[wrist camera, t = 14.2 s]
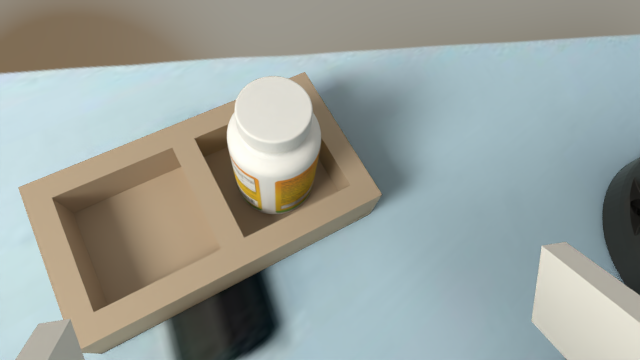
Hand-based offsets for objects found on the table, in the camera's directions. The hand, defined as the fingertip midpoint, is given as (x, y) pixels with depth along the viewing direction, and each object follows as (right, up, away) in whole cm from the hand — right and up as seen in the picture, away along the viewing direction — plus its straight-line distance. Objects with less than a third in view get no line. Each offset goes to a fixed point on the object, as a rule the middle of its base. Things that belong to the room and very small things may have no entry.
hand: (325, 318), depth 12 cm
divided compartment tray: (-8, +2, +19) cm, 20 cm away
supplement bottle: (-3, +4, +19) cm, 20 cm away
